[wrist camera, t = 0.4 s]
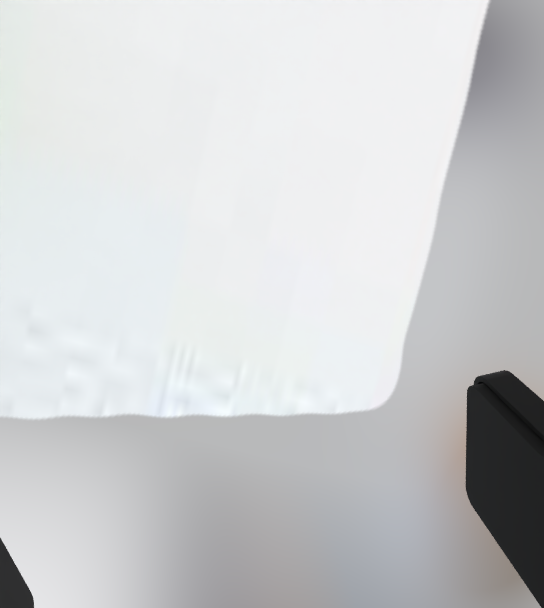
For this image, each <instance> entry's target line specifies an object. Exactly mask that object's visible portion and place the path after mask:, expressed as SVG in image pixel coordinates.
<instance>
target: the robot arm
mask: <svg viewBox="0 0 544 608" xmlns="http://www.w3.org/2000/svg"><path fill="white" fill-rule="evenodd" d="M466 437H467V438H466V440H467V441H466V491H467V495H468V498H469V500H470V503H471V505H472V506H473V508H474V509H475V511H476V512H477V514H478V515H479V516H480V518H481V520H482V521H483V522H484V524H485V525H486V527H487V528H488V530H489V531H490V533H491V534H492V536H493V537H494V539H495V540H496V541H497V543H498V544H499V546H500V547H501V549H502V550H503V552H504V553H505V555H506V556H507V558H508V559H509V560H510V562H511V563H512V565H513V566H514V568H515V569H516V571H517V572H518V574H519V575H520V577H521V578H522V579H523V581H524V583H525V584H526V585H527V587H528V588H529V590H530V591H531V593H532V594H533V596H534V597H535V598H536V600H537V602H538V603H539V604H540V606H541V607H542V608H544V401H543V400H542V399H541V398H539V397H538V396H537V395H536V394H535V393H534V392H533V391H532V390H530V389H529V388H528V387H527V386H526V385H525V384H524V383H522V382H521V381H520V380H519V379H518V378H517V377H515V376H514V375H513V374H512V373H510V372H509V371H505V370H504V371H500V372H495V373H491V374H486V375H482V376H478V377H477V378H476V379H475V381H474V385H472V386H470V387H469V388H468V390H467V436H466ZM0 608H34V601H33V596H32V594H31V592H30V590H29V588H28V586H27V584H26V583H25V581H24V579H23V577H22V576H21V574H20V572H19V570H18V568H17V567H16V565H15V563H14V561H13V560H12V558H11V556H10V554H9V552H8V551H7V549H6V547H5V545H4V544H3V542H2V540H1V538H0Z"/></svg>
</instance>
